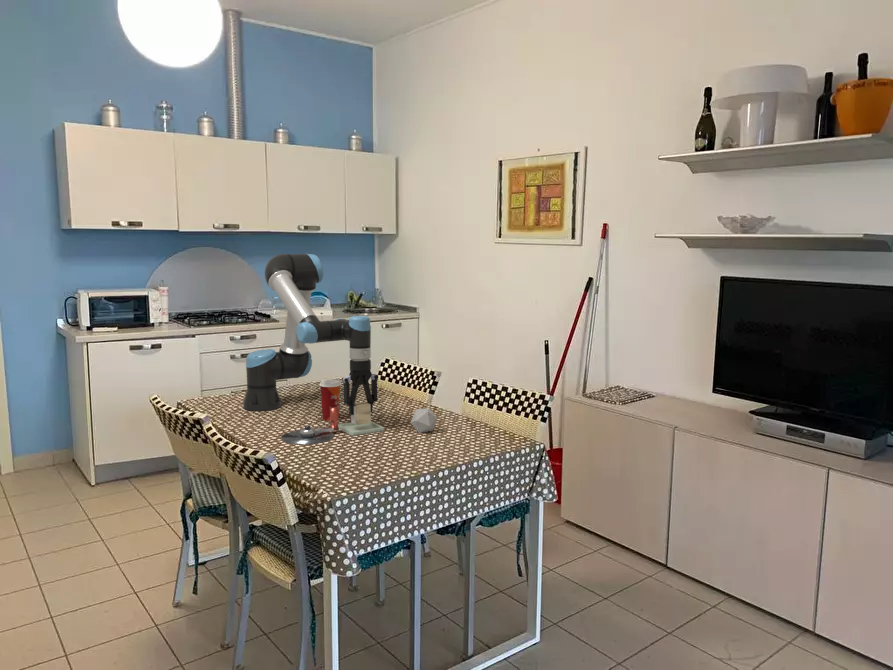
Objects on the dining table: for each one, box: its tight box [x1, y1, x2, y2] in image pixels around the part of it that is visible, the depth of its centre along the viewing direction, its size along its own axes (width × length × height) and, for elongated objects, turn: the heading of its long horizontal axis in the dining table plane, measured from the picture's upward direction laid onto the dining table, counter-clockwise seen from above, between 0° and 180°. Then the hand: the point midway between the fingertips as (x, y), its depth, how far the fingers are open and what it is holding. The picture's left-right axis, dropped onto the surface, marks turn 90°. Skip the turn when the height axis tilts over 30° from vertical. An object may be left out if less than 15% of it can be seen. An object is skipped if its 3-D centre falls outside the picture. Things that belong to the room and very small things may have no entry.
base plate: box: [280, 425, 335, 446], centre depth 235 cm, size 18×18×4 cm
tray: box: [338, 420, 385, 437], centre depth 245 cm, size 13×13×2 cm
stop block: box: [354, 401, 372, 425], centre depth 244 cm, size 5×5×7 cm
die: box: [410, 407, 438, 434], centre depth 244 cm, size 8×9×10 cm
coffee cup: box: [319, 378, 342, 422], centre depth 259 cm, size 8×8×15 cm
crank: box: [299, 407, 339, 437], centre depth 237 cm, size 14×5×9 cm, turn 123°
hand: (361, 422), depth 245 cm, fingers closed on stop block, 5 cm apart
